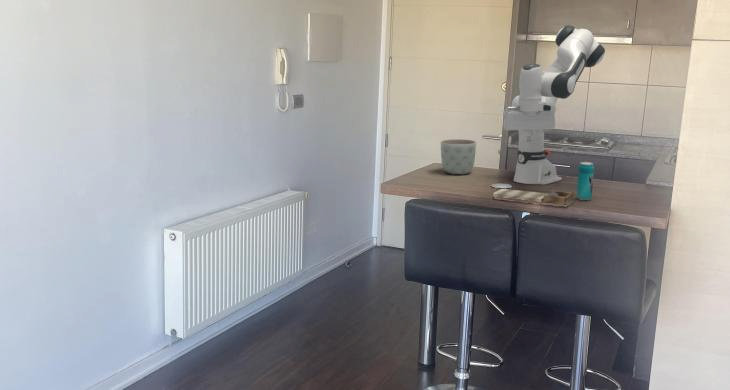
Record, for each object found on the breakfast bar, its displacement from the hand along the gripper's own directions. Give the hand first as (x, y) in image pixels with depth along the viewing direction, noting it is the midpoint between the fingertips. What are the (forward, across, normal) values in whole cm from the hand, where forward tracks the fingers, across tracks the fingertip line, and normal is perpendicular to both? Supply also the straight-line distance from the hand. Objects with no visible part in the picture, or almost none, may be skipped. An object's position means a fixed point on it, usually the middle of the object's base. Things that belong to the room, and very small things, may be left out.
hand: (528, 141), depth 285 cm
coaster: (+24, -4, +25) cm, 35 cm away
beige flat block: (+24, -2, +1) cm, 24 cm away
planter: (+24, -16, +58) cm, 65 cm away
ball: (+22, +10, -5) cm, 25 cm away
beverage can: (+24, +24, -2) cm, 34 cm away
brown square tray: (+24, +10, -8) cm, 27 cm away
